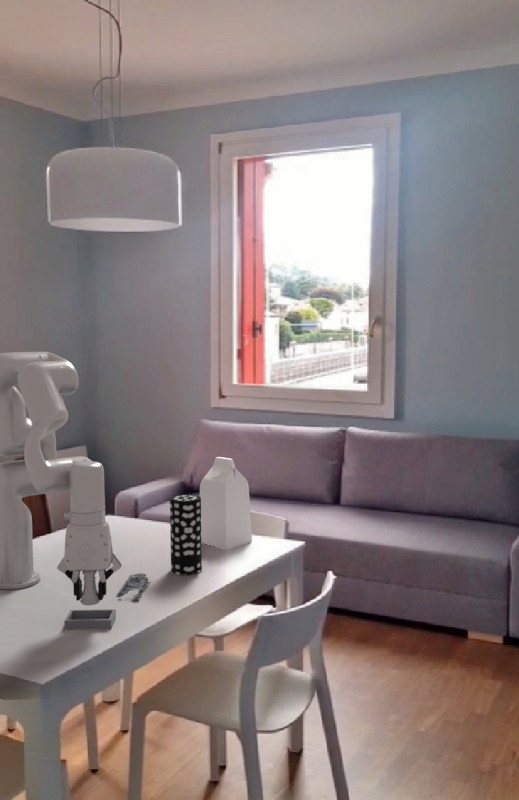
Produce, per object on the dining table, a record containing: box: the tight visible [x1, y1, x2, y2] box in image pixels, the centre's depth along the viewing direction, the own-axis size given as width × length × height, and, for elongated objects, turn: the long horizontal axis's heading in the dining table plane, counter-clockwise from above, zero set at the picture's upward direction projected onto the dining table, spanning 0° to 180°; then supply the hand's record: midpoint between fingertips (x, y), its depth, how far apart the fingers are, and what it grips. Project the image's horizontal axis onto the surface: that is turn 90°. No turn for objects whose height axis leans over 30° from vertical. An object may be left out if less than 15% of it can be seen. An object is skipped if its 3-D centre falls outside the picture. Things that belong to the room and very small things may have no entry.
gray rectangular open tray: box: [64, 608, 117, 630], centre depth 181 cm, size 10×7×2 cm, turn 92°
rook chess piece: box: [79, 571, 101, 606], centre depth 180 cm, size 4×4×8 cm
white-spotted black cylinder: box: [169, 494, 203, 576], centre depth 218 cm, size 8×8×20 cm
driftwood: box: [115, 572, 151, 602], centre depth 205 cm, size 21×7×2 cm, turn 176°
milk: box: [199, 456, 253, 550], centre depth 246 cm, size 12×12×26 cm
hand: (90, 597), depth 180 cm, fingers closed on rook chess piece, 4 cm apart
